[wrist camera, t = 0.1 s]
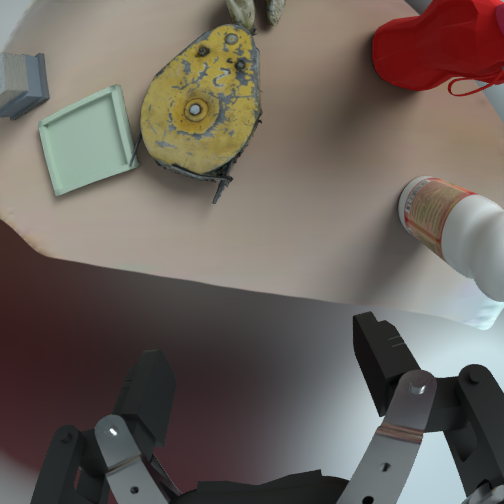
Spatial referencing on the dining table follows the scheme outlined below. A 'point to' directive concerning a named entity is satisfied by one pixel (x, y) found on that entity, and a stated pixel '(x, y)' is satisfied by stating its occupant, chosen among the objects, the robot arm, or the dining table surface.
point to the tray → (88, 140)
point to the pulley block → (208, 99)
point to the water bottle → (443, 45)
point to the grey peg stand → (30, 89)
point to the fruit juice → (457, 230)
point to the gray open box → (12, 78)
